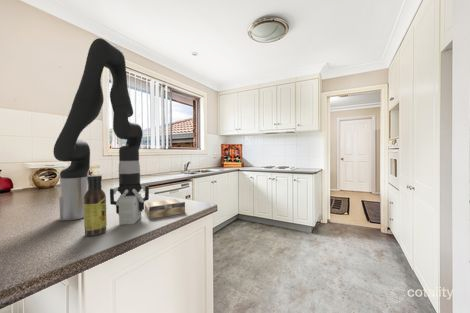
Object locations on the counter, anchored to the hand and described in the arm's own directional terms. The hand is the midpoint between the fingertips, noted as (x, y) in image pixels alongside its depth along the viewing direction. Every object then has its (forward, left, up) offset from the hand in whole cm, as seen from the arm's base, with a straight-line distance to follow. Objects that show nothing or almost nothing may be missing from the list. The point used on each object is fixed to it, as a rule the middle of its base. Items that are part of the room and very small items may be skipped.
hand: (130, 212), depth 81 cm
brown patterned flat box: (+14, +7, -3) cm, 16 cm away
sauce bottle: (-11, -7, -4) cm, 14 cm away
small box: (0, 0, -4) cm, 4 cm away
